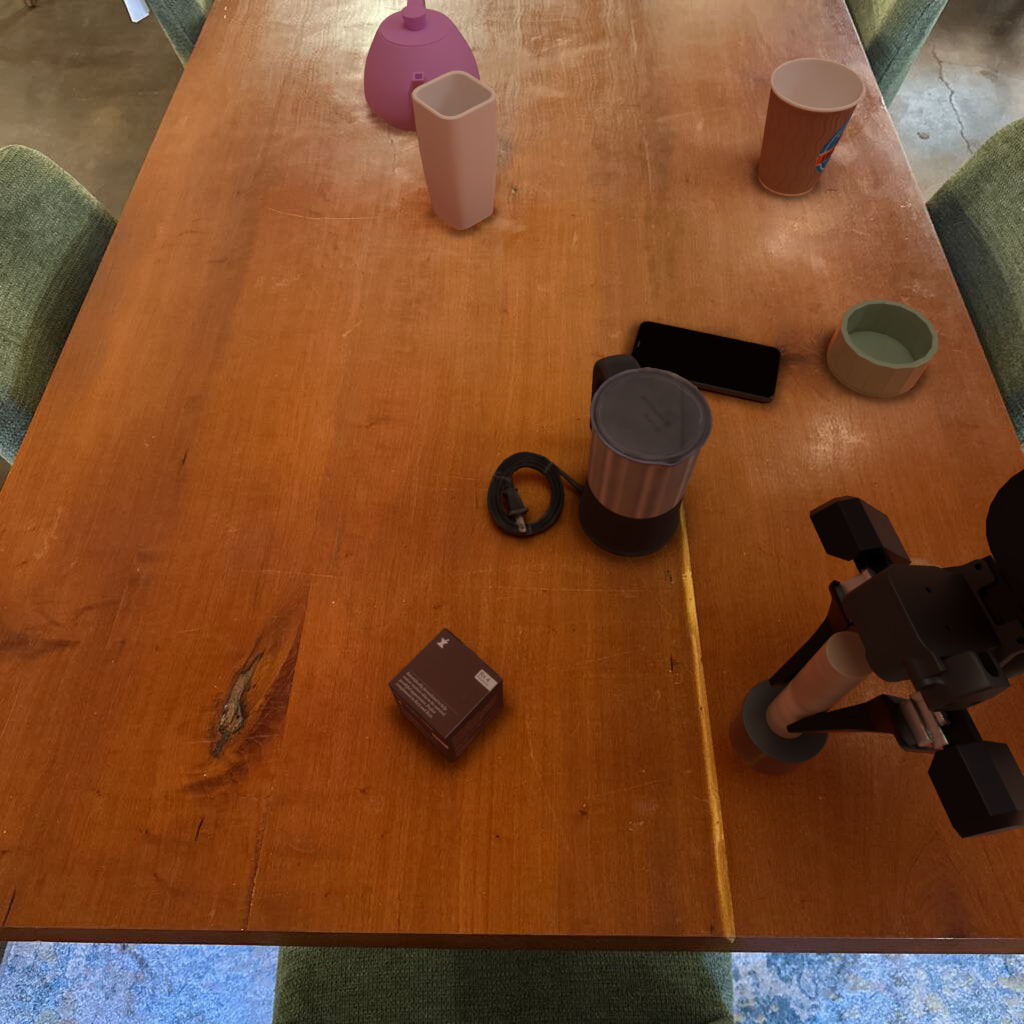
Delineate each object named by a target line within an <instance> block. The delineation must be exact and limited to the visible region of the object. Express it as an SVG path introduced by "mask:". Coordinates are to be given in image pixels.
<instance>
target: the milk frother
mask: <svg viewBox="0 0 1024 1024" xmlns="http://www.w3.org/2000/svg"><path fill="white" fill-rule="evenodd" d="M713 422H714V418H713V412H712V410H711V407H710V403H709V402H708V400H707V399H706V397H705V395H704V394H703V393H702V392H701V390H700V389H699V388H697V387H696V386H694V385H693V384H692V383H691V382H689V381H688V380H686V379H684V378H682V377H680V376H679V375H677V374H675V373H672V372H669V371H666V370H661V369H657V368H650V367H646V368H641V367H640V365H639V364H638V362H637V361H636V359H635V358H634V357H633V356H631V355H630V354H628V353H620V354H613V355H608V356H605V357H602V358H599V359H597V360H596V361H595V362H594V365H593V367H592V379H591V394H590V406H589V429H590V441H589V450H588V459H587V467H586V475H585V483H584V485H582V484H581V483H579V482H578V481H576V480H575V479H574V478H572V477H571V476H570V475H569V474H568V473H566V472H565V471H564V470H562V469H561V467H559V466H558V465H557V464H555V462H553V461H551V460H550V459H549V458H548V457H546V456H544V455H542V454H540V453H536V452H533V451H519V452H514V453H513V454H511V455H508V456H507V457H506V458H505V459H503V460H502V461H501V463H500V464H499V465H498V466H497V468H496V469H495V471H494V473H493V474H492V476H491V480H490V482H489V485H488V490H487V495H486V496H487V497H486V504H487V509H488V512H489V515H490V517H491V519H492V521H493V522H494V523H495V525H496V526H497V527H498V528H499V529H501V531H503V532H505V533H507V534H510V535H511V536H515V537H528V536H532V535H533V536H534V535H536V534H540V533H542V532H543V531H545V530H547V529H549V528H550V527H552V526H553V524H554V523H555V522H556V521H557V519H558V518H559V516H560V514H561V513H562V510H563V507H564V504H565V489H564V483H563V480H562V478H563V479H564V480H565V481H566V482H568V484H569V485H570V486H571V487H572V488H573V489H575V490H576V491H578V492H579V493H581V495H580V497H579V500H578V507H577V513H578V519H579V523H580V525H581V527H582V529H583V531H584V533H585V534H586V535H587V536H588V538H589V539H590V540H591V541H592V542H593V543H594V544H596V545H597V546H599V547H600V548H602V549H603V550H605V551H607V552H609V553H612V554H615V555H619V556H625V557H627V556H628V557H638V556H646V555H649V554H652V553H655V552H656V551H658V550H660V549H661V548H663V547H664V546H666V544H668V543H669V542H670V541H671V539H673V537H674V535H675V533H676V531H677V529H678V527H679V523H680V511H681V506H682V503H683V500H684V497H685V494H686V492H687V488H688V486H689V484H690V481H691V479H692V476H693V473H694V470H695V467H696V465H697V461H698V460H699V456H700V453H701V450H702V448H703V447H704V446H705V445H706V444H707V442H708V440H709V438H710V437H711V434H712V429H713ZM521 469H532V470H534V471H537V472H538V473H539V474H541V475H542V476H543V477H544V478H545V479H546V480H547V482H548V484H549V487H550V500H549V504H548V507H547V508H546V511H545V513H543V515H542V516H541V517H539V518H538V519H537V520H534V521H532V522H529V523H527V522H526V520H525V518H524V517H525V516H526V515H527V513H528V512H530V508H529V507H528V506H527V507H526V506H525V505H524V502H523V500H522V498H521V496H520V493H518V492H519V488H517V487H515V484H514V478H513V475H514V474H515V473H516V472H517V471H518V470H521ZM561 477H562V478H561ZM502 498H503V501H504V506H505V510H504V507H503V502H502Z"/></svg>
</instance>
